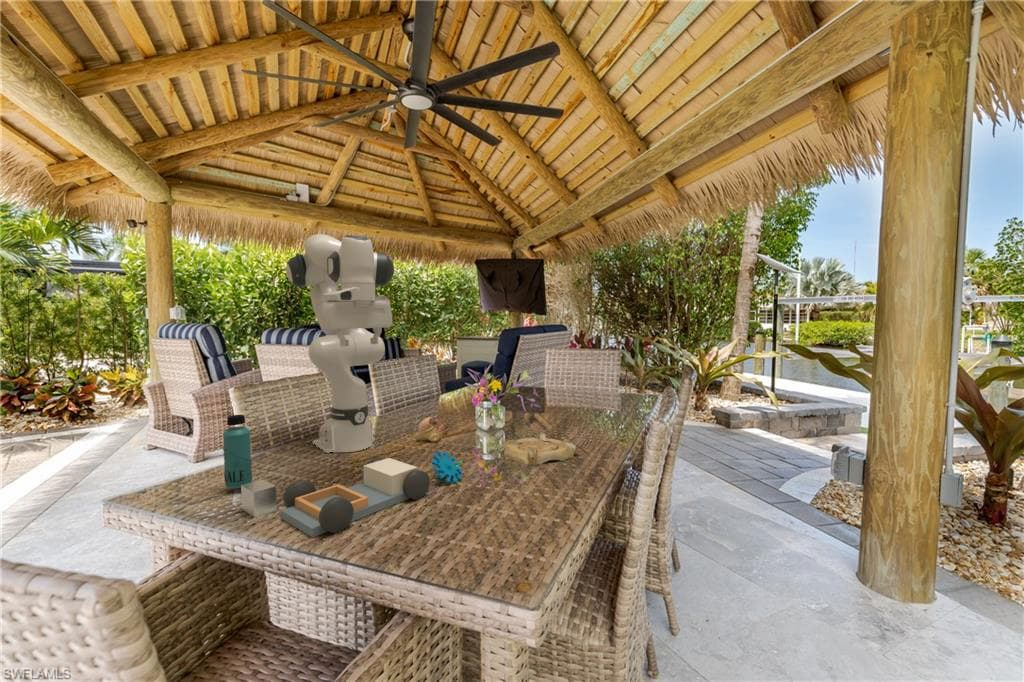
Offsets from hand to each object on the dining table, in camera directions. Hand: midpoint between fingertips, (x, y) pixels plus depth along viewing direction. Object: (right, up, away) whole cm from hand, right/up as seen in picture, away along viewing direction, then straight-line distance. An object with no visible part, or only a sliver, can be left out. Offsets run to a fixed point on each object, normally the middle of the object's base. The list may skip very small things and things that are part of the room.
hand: (359, 345), depth 128 cm
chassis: (+5, -39, -14) cm, 42 cm away
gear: (+24, -38, +3) cm, 45 cm away
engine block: (-19, -39, -17) cm, 47 cm away
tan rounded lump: (+11, -35, +41) cm, 55 cm away
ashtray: (+51, -37, +26) cm, 68 cm away
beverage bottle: (-30, -39, -5) cm, 49 cm away
